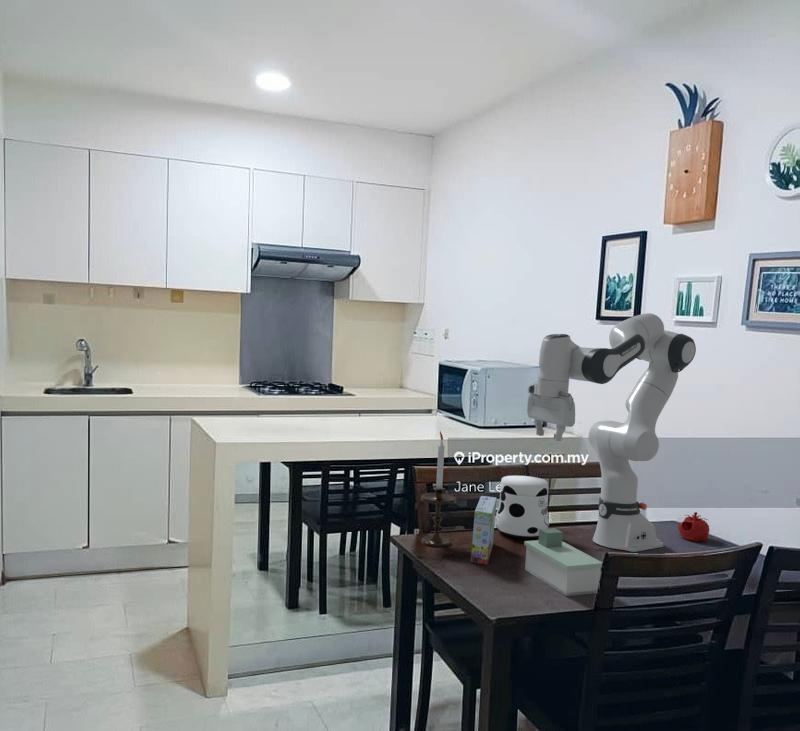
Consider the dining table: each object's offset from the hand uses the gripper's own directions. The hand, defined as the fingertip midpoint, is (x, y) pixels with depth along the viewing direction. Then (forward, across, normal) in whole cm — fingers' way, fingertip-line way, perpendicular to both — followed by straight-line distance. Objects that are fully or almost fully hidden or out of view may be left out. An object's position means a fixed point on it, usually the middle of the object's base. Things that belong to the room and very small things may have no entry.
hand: (548, 438), depth 201 cm
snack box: (+37, +12, +12) cm, 41 cm away
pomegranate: (+35, +12, -67) cm, 76 cm away
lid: (+30, -14, +2) cm, 33 cm away
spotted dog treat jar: (+36, +27, -10) cm, 46 cm away
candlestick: (+37, +23, +22) cm, 49 cm away
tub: (+36, -14, +2) cm, 39 cm away
